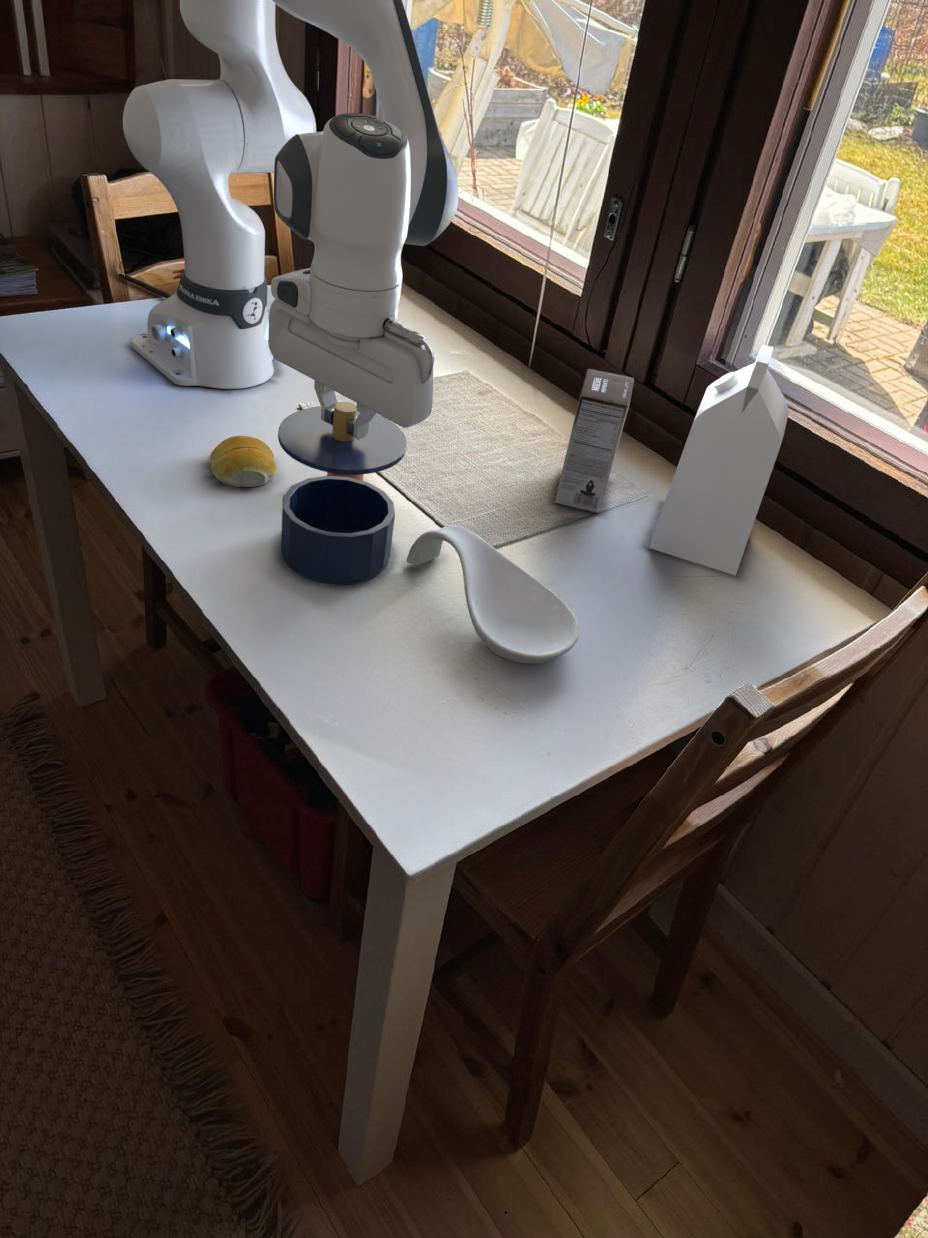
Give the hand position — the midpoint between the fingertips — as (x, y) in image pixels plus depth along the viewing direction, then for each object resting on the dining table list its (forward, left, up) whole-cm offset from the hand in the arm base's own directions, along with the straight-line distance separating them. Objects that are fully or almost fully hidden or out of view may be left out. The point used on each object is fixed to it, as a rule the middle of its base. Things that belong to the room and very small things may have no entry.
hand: (343, 428), depth 102 cm
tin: (0, 0, -16) cm, 16 cm away
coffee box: (+12, +36, -16) cm, 41 cm away
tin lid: (0, 0, -2) cm, 2 cm away
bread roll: (-20, +4, -16) cm, 26 cm away
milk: (+29, +39, -16) cm, 51 cm away
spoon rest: (+19, +4, -16) cm, 26 cm away
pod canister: (-9, +11, -16) cm, 21 cm away
